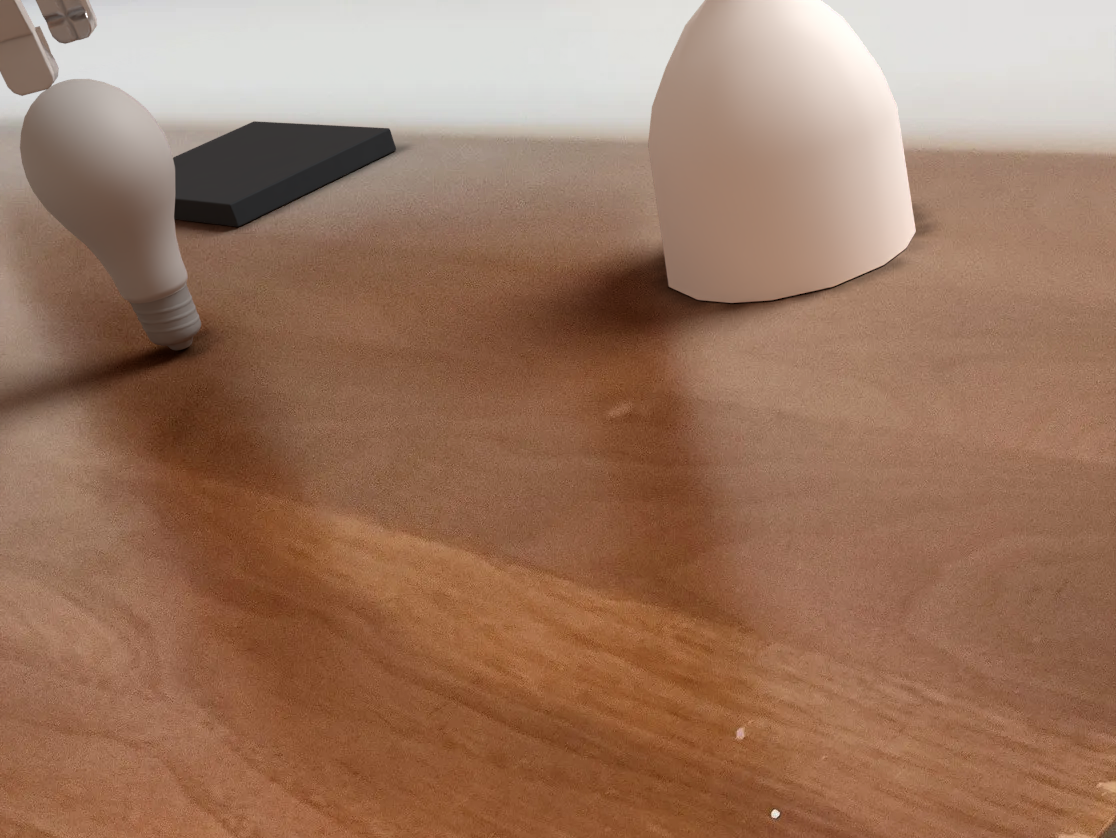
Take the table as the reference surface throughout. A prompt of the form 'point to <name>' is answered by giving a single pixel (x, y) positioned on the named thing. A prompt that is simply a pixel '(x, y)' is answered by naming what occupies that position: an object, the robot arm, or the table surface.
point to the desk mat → (268, 168)
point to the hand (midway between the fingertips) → (60, 61)
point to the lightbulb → (114, 196)
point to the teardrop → (775, 154)
